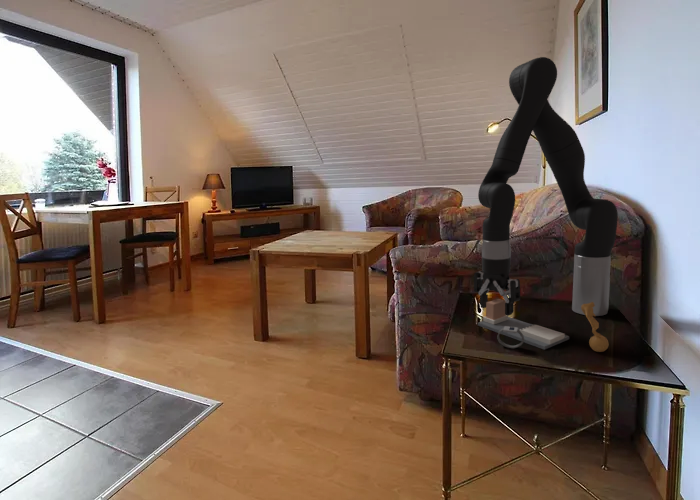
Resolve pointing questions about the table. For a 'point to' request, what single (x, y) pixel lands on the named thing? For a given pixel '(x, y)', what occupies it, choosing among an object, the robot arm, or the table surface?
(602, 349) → the figurine
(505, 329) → the wristwatch
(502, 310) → the tan rectangular block
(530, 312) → the table surface
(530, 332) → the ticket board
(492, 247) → the robot arm
